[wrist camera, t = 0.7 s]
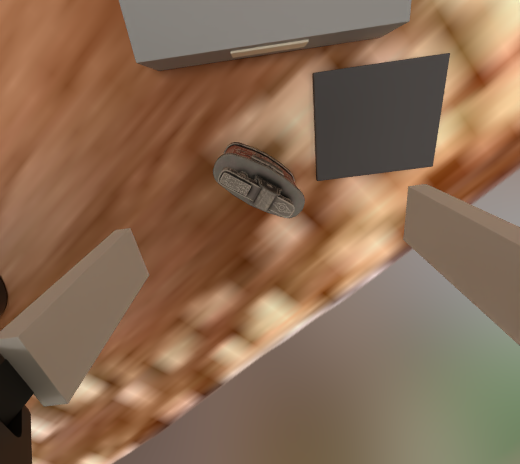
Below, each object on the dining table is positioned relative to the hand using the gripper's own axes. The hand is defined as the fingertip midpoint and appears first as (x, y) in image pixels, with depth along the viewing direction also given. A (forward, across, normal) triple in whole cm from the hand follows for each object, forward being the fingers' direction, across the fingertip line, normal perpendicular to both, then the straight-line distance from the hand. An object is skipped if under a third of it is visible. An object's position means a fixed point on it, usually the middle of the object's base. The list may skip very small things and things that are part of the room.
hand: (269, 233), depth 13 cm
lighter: (+17, 0, 0) cm, 17 cm away
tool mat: (+17, +12, +2) cm, 21 cm away
